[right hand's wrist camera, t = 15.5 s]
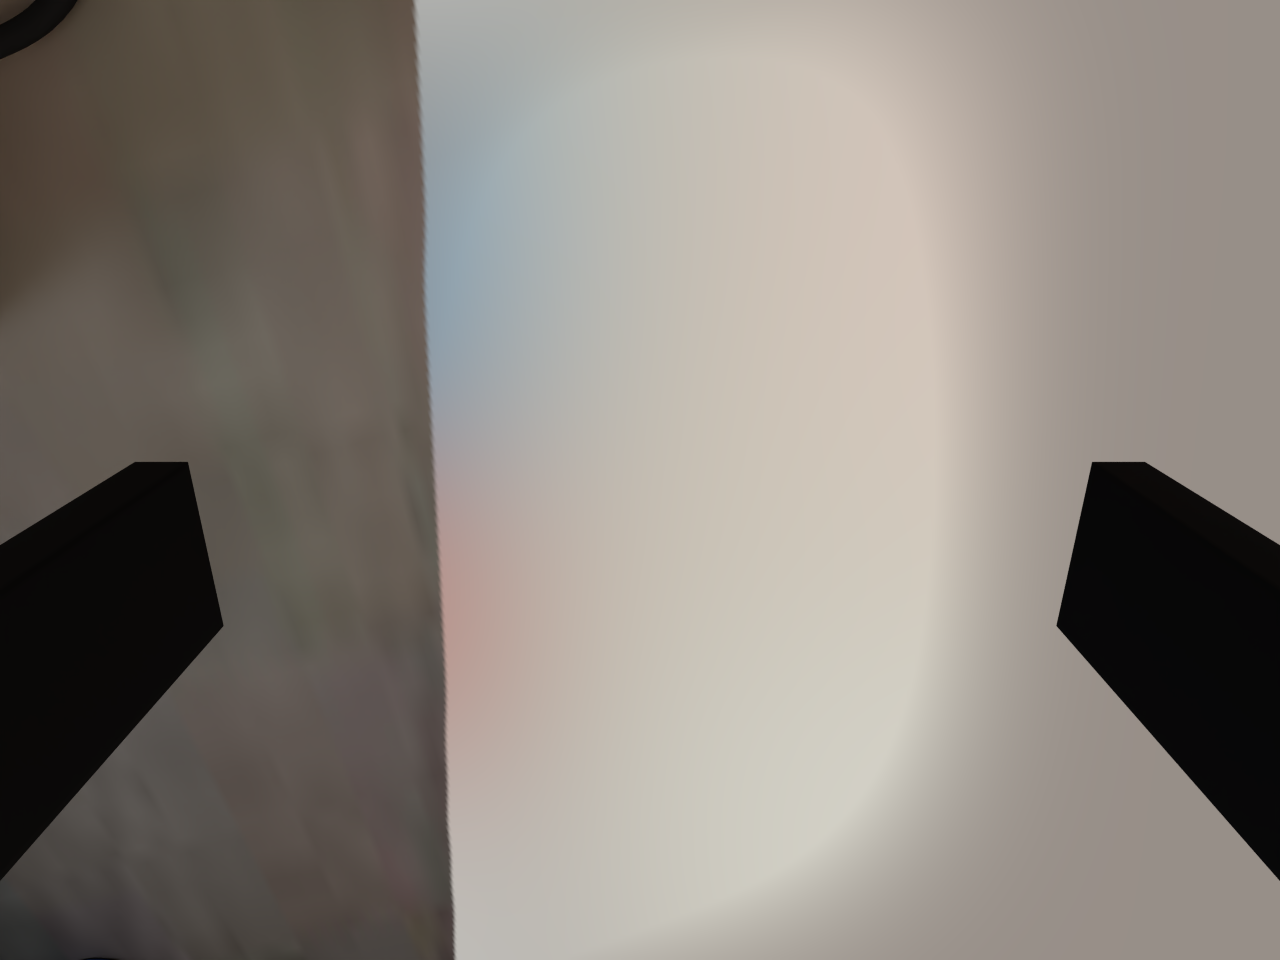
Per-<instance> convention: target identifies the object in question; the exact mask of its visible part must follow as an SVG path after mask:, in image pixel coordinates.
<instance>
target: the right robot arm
mask: <svg viewBox="0 0 1280 960" xmlns="http://www.w3.org/2000/svg"><path fill="white" fill-rule="evenodd" d="M76 1H77V0H35V1H34V2H33V3H32V4H31V5H30V6H29V7H28V8H27V9H25V10H24V11H23V12H21V13H20V14H18V15H17V16H15V17H14V18H12V19H10V20H9V21H7V22H5V23H3V24H1V25H0V59H2V58H4V57H6V56H9V55H11V54H13V53H15V52H18V51H20V50H22V49H24V48H26V47H28V46H29V45H31V44H33V43H35V42H36V41H38V40H39V39H41V38H42V37H44V36H45V35H47V34H48V33H49V32H50V31H52V30H53V29H54V28H55V27H56V26H57V25H58V24H59V23H60V22H61V21H62V20H63V19H64V18H65V17H66V15H67V14H68V13H69V12H70V10H71V9H72V8H73V6H74V4H75V3H76ZM222 627H223V621H222V617H221V612H220V607H219V603H218V598H217V594H216V589H215V584H214V580H213V575H212V571H211V566H210V562H209V557H208V552H207V548H206V543H205V539H204V534H203V529H202V525H201V520H200V516H199V511H198V506H197V502H196V497H195V493H194V488H193V484H192V479H191V474H190V470H189V465H188V462H134V463H133V464H131V465H129V466H128V467H126V468H124V469H123V470H121V471H120V472H118V473H116V474H115V475H113V476H112V477H110V478H108V479H107V480H105V481H103V482H102V483H100V484H99V485H97V486H95V487H94V488H92V489H90V490H89V491H87V492H86V493H84V494H82V495H81V496H79V497H77V498H76V499H74V500H73V501H71V502H69V503H68V504H66V505H65V506H63V507H61V508H60V509H58V510H56V511H55V512H53V513H52V514H50V515H48V516H47V517H45V518H43V519H42V520H40V521H39V522H37V523H35V524H34V525H32V526H30V527H29V528H27V529H26V530H24V531H22V532H21V533H19V534H17V535H16V536H14V537H13V538H11V539H9V540H8V541H6V542H5V543H3V544H1V545H0V880H1V879H2V878H3V877H4V876H5V875H6V874H7V872H8V871H9V870H10V869H11V868H12V867H13V866H14V864H15V863H16V862H17V861H18V860H19V859H20V858H21V856H22V855H23V854H24V853H25V852H26V851H27V850H28V848H29V847H30V846H31V845H32V844H33V843H34V842H35V840H36V839H37V838H38V837H39V836H40V835H41V834H42V832H43V831H44V830H45V829H46V828H47V827H48V826H49V824H50V823H51V822H52V821H53V820H54V819H55V818H56V816H57V815H58V814H59V813H60V812H61V811H62V810H63V808H64V807H65V806H66V805H67V804H68V803H69V802H70V801H71V799H72V798H73V797H74V796H75V795H76V794H77V793H78V791H79V790H80V789H81V788H82V787H83V786H84V785H85V783H86V782H87V781H88V780H89V779H90V778H91V777H92V775H93V774H94V773H95V772H96V771H97V770H98V769H99V767H100V766H101V765H102V764H103V763H104V762H105V761H106V759H107V758H108V757H109V756H110V755H111V754H112V753H113V751H114V750H115V749H116V748H117V747H118V746H119V745H120V743H121V742H122V741H123V740H124V739H125V738H126V737H127V735H128V734H129V733H130V732H131V731H132V730H133V729H134V727H135V726H136V725H137V724H138V723H139V722H140V721H141V719H142V718H143V717H144V716H145V715H146V714H147V713H148V711H149V710H150V709H151V708H152V707H153V706H154V705H155V703H156V702H157V701H158V700H159V699H160V698H161V697H162V696H163V694H164V693H165V692H166V691H167V690H168V689H169V688H170V686H171V685H172V684H173V683H174V682H175V681H176V680H177V678H178V677H179V676H180V675H181V674H182V673H183V672H184V670H185V669H186V668H187V667H188V666H189V665H190V664H191V662H192V661H193V660H194V659H195V658H196V657H197V656H198V654H199V653H200V652H201V651H202V650H203V649H204V648H205V646H206V645H207V644H208V643H209V642H210V641H211V640H212V638H213V637H214V636H215V635H216V634H217V633H218V632H219V630H220V629H221V628H222ZM1057 627H1058V628H1059V629H1060V630H1061V632H1062V633H1063V634H1064V635H1065V636H1066V637H1067V638H1068V640H1069V641H1070V642H1071V643H1072V644H1073V645H1074V646H1075V648H1076V649H1077V650H1078V651H1079V652H1080V653H1081V654H1082V656H1083V657H1084V658H1085V659H1086V660H1087V661H1088V662H1089V663H1090V665H1091V666H1092V667H1093V668H1094V669H1095V670H1096V671H1097V673H1098V674H1099V675H1100V676H1101V677H1102V678H1103V680H1104V681H1105V682H1106V683H1107V684H1108V685H1109V686H1110V688H1111V689H1112V690H1113V691H1114V692H1115V693H1116V694H1117V696H1118V697H1119V698H1120V699H1121V700H1122V701H1123V702H1124V703H1125V705H1126V706H1127V707H1128V708H1129V709H1130V710H1131V711H1132V713H1133V714H1134V715H1135V716H1136V717H1137V718H1138V719H1139V721H1140V722H1141V723H1142V724H1143V725H1144V726H1145V727H1146V729H1147V730H1148V731H1149V732H1150V733H1151V734H1152V735H1153V737H1154V738H1155V739H1156V740H1157V741H1158V742H1159V743H1160V745H1161V746H1162V747H1163V748H1164V749H1165V750H1166V751H1167V753H1168V754H1169V755H1170V756H1171V757H1172V758H1173V759H1174V761H1175V762H1176V763H1177V764H1178V765H1179V766H1180V767H1181V769H1182V770H1183V771H1184V772H1185V773H1186V774H1187V775H1188V777H1189V778H1190V779H1191V780H1192V781H1193V782H1194V783H1195V785H1196V786H1197V787H1198V788H1199V789H1200V790H1201V791H1202V793H1203V794H1204V795H1205V796H1206V797H1207V798H1208V799H1209V800H1210V802H1211V803H1212V804H1213V805H1214V806H1215V807H1216V808H1217V810H1218V811H1219V812H1220V813H1221V814H1222V815H1223V816H1224V818H1225V819H1226V820H1227V821H1228V822H1229V823H1230V824H1231V826H1232V827H1233V828H1234V829H1235V830H1236V831H1237V832H1238V834H1239V835H1240V836H1241V837H1242V838H1243V839H1244V840H1245V842H1246V843H1247V844H1248V845H1249V846H1250V847H1251V848H1252V850H1253V851H1254V852H1255V853H1256V854H1257V855H1258V856H1259V858H1260V859H1261V860H1262V861H1263V862H1264V863H1265V864H1266V866H1267V867H1268V868H1269V869H1270V870H1271V871H1272V872H1273V874H1274V875H1275V876H1276V877H1277V878H1278V879H1279V880H1280V545H1279V544H1277V543H1275V542H1274V541H1272V540H1271V539H1269V538H1267V537H1266V536H1264V535H1262V534H1261V533H1259V532H1258V531H1256V530H1254V529H1253V528H1251V527H1250V526H1248V525H1246V524H1245V523H1243V522H1241V521H1240V520H1238V519H1237V518H1235V517H1233V516H1232V515H1230V514H1228V513H1227V512H1225V511H1224V510H1222V509H1220V508H1219V507H1217V506H1215V505H1214V504H1212V503H1211V502H1209V501H1207V500H1206V499H1204V498H1203V497H1201V496H1199V495H1198V494H1196V493H1194V492H1193V491H1191V490H1190V489H1188V488H1186V487H1185V486H1183V485H1181V484H1180V483H1178V482H1176V481H1175V480H1173V479H1172V478H1170V477H1168V476H1167V475H1165V474H1164V473H1162V472H1160V471H1159V470H1157V469H1155V468H1154V467H1152V466H1151V465H1149V464H1147V463H1146V462H1092V465H1091V470H1090V474H1089V479H1088V484H1087V488H1086V493H1085V497H1084V502H1083V507H1082V511H1081V516H1080V520H1079V525H1078V529H1077V534H1076V539H1075V543H1074V548H1073V552H1072V557H1071V562H1070V566H1069V571H1068V575H1067V580H1066V584H1065V589H1064V594H1063V598H1062V603H1061V608H1060V612H1059V617H1058V621H1057Z"/></svg>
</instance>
